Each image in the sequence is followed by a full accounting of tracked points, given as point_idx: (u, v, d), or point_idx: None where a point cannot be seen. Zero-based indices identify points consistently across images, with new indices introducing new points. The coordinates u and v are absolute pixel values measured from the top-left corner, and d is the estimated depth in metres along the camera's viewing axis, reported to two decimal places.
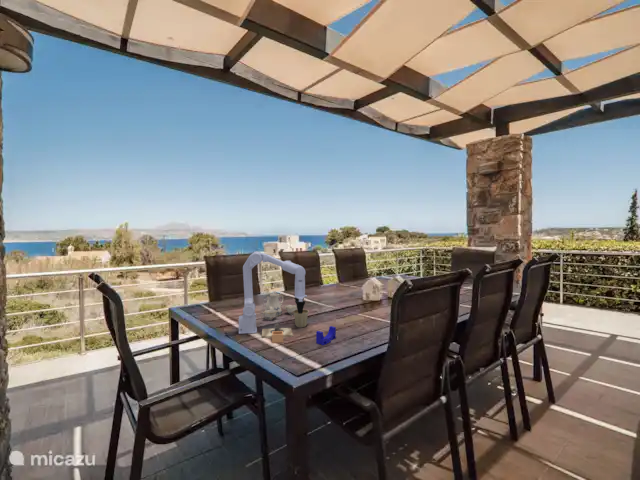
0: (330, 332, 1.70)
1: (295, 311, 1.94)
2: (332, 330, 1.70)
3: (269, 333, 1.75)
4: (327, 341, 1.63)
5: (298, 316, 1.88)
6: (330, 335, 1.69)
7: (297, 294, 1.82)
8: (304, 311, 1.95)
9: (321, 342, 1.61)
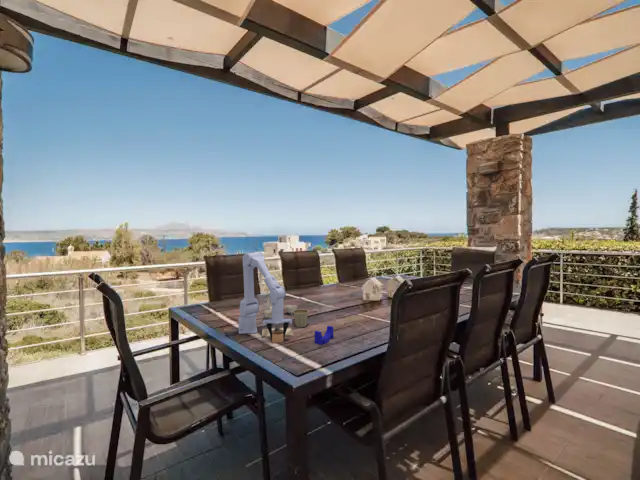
0: (328, 331, 1.71)
1: (295, 311, 1.94)
2: (330, 330, 1.70)
3: (269, 333, 1.75)
4: (325, 341, 1.64)
5: (298, 316, 1.88)
6: (328, 335, 1.69)
7: None
8: (304, 311, 1.95)
9: (320, 342, 1.62)
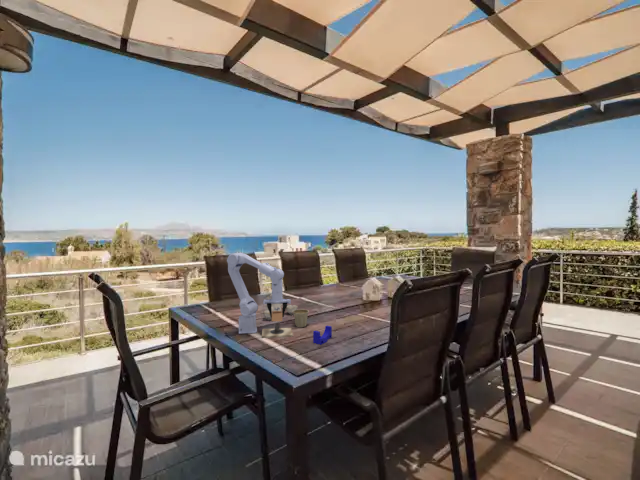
0: (326, 331, 1.71)
1: (295, 311, 1.94)
2: (328, 329, 1.71)
3: (269, 333, 1.75)
4: (324, 340, 1.64)
5: (298, 316, 1.88)
6: (326, 334, 1.70)
7: None
8: (304, 311, 1.95)
9: (318, 342, 1.62)
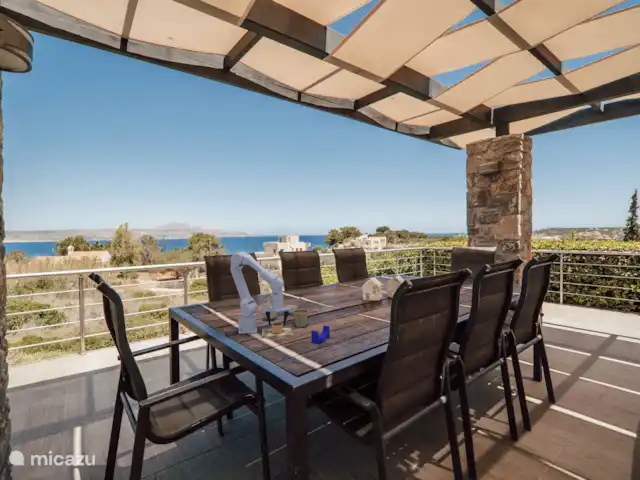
0: (324, 331, 1.71)
1: (295, 311, 1.94)
2: (326, 329, 1.71)
3: (269, 333, 1.75)
4: (322, 340, 1.64)
5: (298, 316, 1.88)
6: (324, 334, 1.70)
7: None
8: (304, 311, 1.95)
9: (317, 341, 1.62)
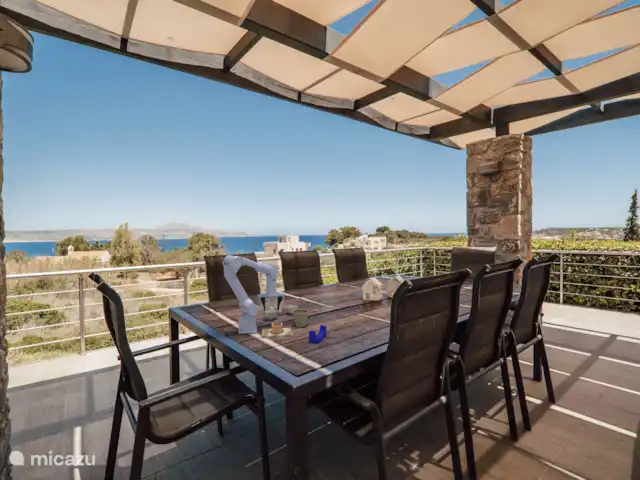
0: (321, 330, 1.72)
1: (295, 311, 1.94)
2: (323, 329, 1.72)
3: (269, 333, 1.75)
4: (320, 340, 1.65)
5: (298, 316, 1.88)
6: (321, 334, 1.71)
7: None
8: (304, 311, 1.95)
9: (314, 341, 1.63)
